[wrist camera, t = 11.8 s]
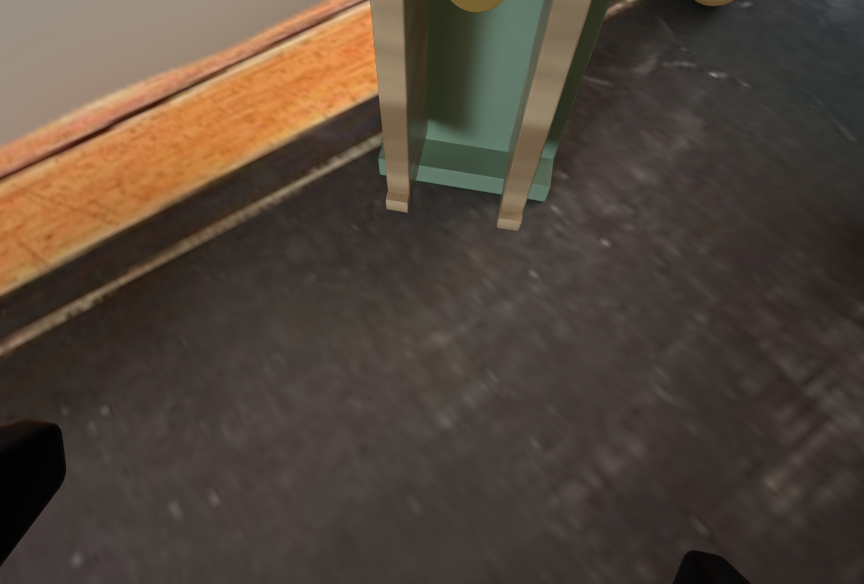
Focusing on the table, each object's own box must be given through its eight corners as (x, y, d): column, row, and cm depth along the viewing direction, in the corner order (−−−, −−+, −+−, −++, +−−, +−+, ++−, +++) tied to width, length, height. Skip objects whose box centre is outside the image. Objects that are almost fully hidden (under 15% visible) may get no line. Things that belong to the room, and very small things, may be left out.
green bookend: (536, 279, 23) (728, -137, 9) (359, 248, 24) (264, -195, 9) (553, 130, 27) (711, -344, 12) (398, 106, 27) (374, -380, 13)
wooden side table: (518, 231, 21) (631, -109, 10) (386, 209, 22) (349, -145, 10) (529, 145, 23) (637, -226, 12) (407, 126, 23) (396, -254, 12)
